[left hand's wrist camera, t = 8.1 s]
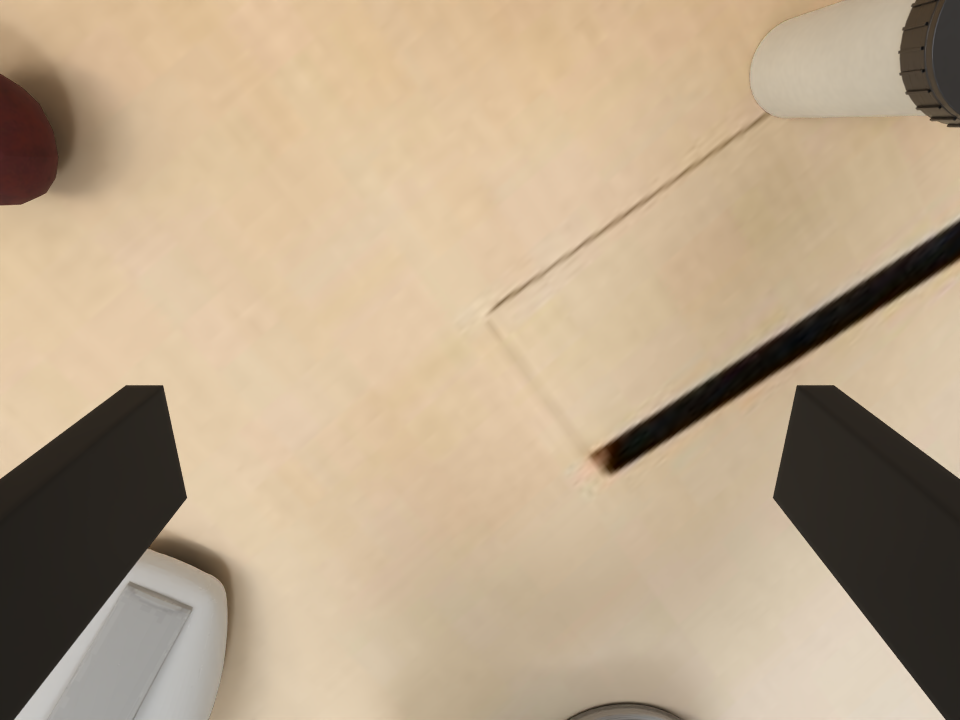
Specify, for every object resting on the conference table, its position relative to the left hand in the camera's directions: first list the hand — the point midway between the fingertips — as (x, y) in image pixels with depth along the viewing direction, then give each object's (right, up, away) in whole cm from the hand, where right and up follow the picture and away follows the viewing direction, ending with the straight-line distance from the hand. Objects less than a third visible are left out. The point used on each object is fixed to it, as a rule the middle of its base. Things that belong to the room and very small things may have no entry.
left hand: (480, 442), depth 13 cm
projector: (-29, -22, +39) cm, 53 cm away
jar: (+18, +19, +22) cm, 35 cm away
